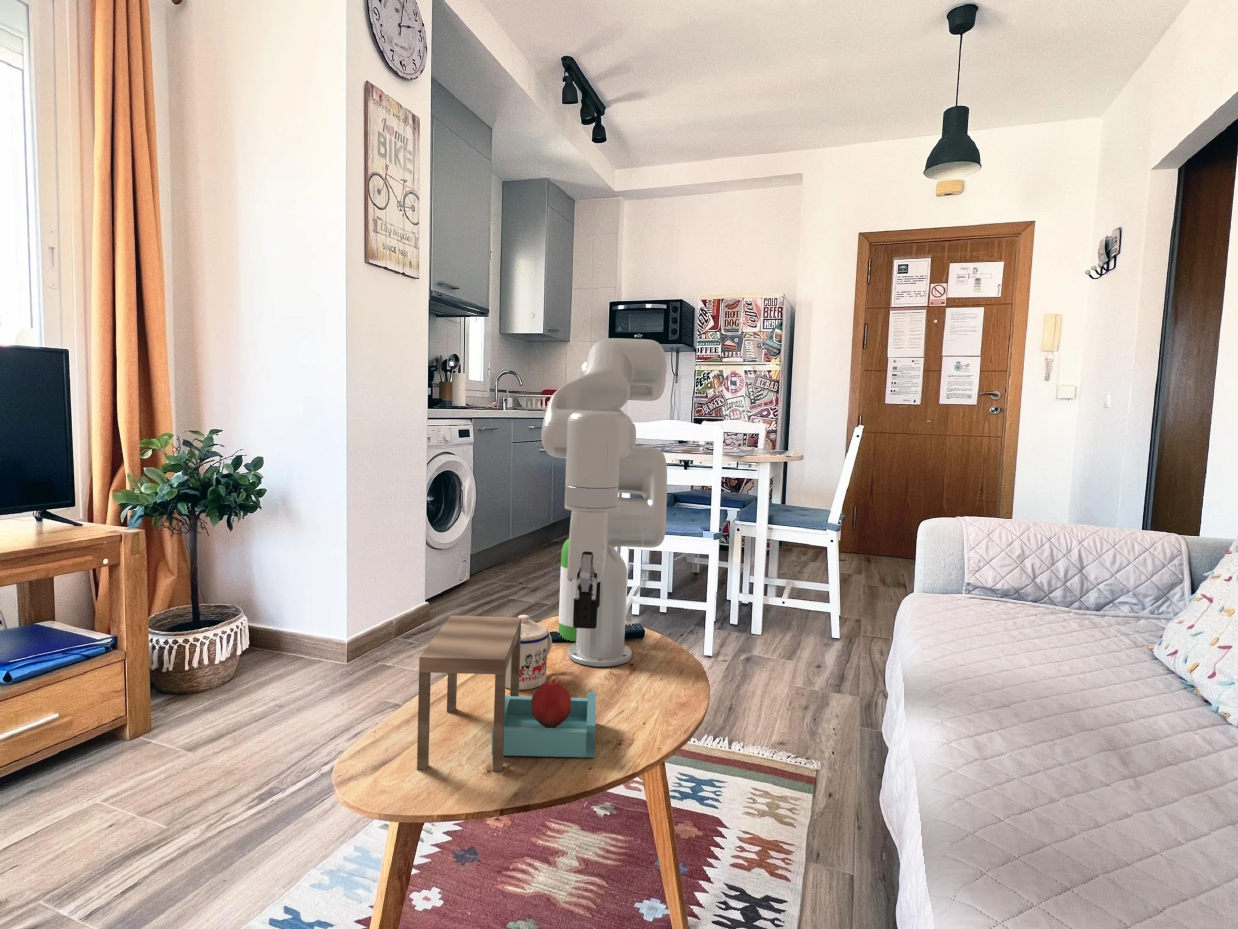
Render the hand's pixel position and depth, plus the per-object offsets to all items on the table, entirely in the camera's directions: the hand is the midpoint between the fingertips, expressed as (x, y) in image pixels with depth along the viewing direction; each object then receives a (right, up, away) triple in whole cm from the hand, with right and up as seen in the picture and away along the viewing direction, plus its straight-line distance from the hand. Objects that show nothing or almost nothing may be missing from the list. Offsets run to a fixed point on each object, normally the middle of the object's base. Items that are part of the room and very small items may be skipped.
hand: (586, 616), depth 93 cm
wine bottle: (-5, -15, +46) cm, 49 cm away
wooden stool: (-17, -18, +1) cm, 24 cm away
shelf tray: (-6, -18, +1) cm, 19 cm away
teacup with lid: (-12, -17, +23) cm, 31 cm away
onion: (-5, -17, +1) cm, 18 cm away
